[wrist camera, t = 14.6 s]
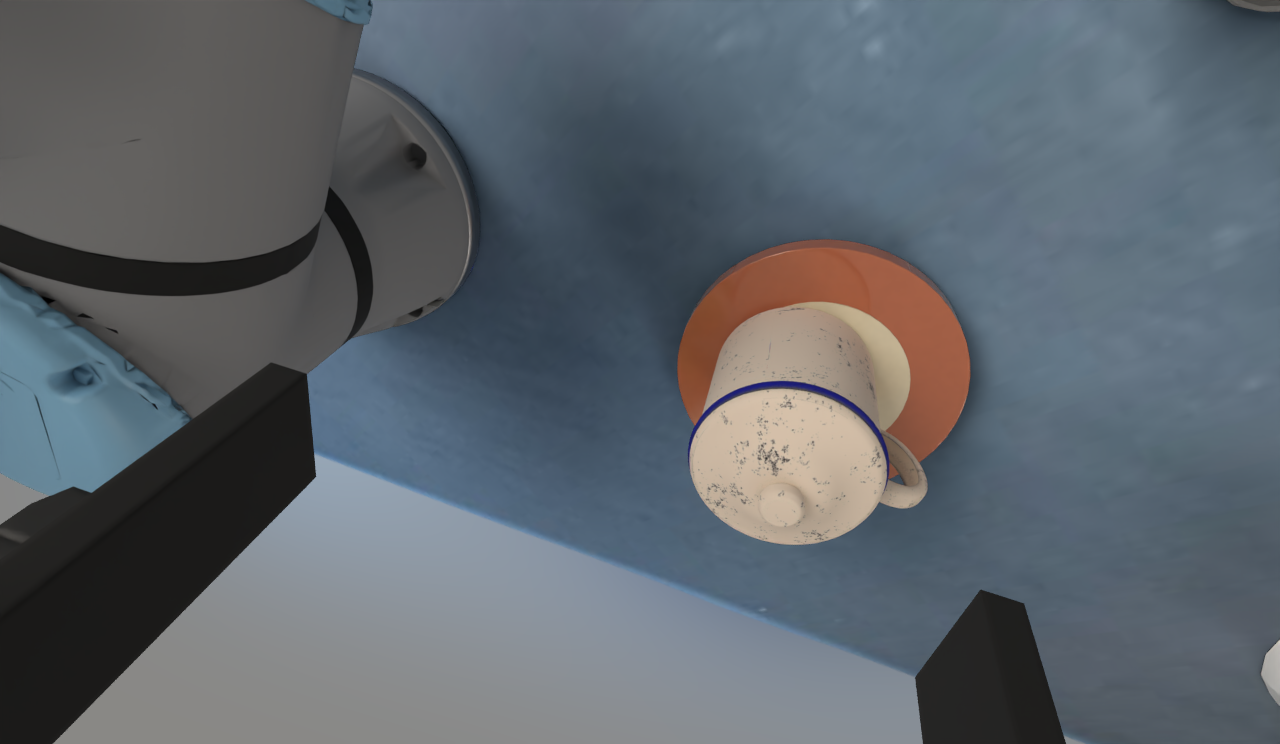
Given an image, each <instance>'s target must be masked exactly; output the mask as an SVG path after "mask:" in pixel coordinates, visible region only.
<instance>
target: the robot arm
mask: <svg viewBox="0 0 1280 744" xmlns="http://www.w3.org/2000/svg"><path fill="white" fill-rule="evenodd" d="M372 8H373V4H372V2H371V0H0V473H1V474H3V475H5V476H6V477H8V478H10V479H12V480H14V481H16V482H18V483H21V484H23V485H25V486H27V487H29V488H31V489H33V490H36V491H38V492H41V493H44V494H47V495H49V497H46V498H44V499H41V500H39V501H37V502H34V503H32V504H30V505H28V506H27V507H26V508H24V509H23V510H21V511H20V512H18V513H17V514H15V515H14V516H12V517H11V518H10V519H8V520H7V521H5V522H4V523H2V524H1V525H0V744H53V743H54V742H55V741H56V740H57V739H58V738H59V737H60V735H62V734H63V733H64V732H65V731H66V730H67V729H68V728H69V727H70V726H71V725H72V724H73V723H74V721H76V720H77V719H78V718H79V716H81V714H83V713H84V712H85V710H86V709H87V708H88V707H89V706H90V705H91V704H92V703H93V702H94V701H95V700H96V699H97V698H98V697H99V696H100V695H101V694H102V693H103V692H104V691H105V690H106V689H107V688H108V687H109V686H110V685H111V684H112V683H113V682H114V681H115V680H116V679H117V678H118V677H119V676H120V675H121V674H122V673H123V672H124V671H125V670H126V669H127V668H128V667H129V666H130V665H131V664H132V663H133V662H134V661H135V660H136V659H137V658H138V657H139V656H140V655H141V654H142V653H143V652H144V651H145V650H146V648H148V646H149V645H151V644H152V643H153V642H154V641H155V640H156V639H157V637H159V635H160V634H161V633H162V632H163V631H164V630H165V629H166V628H167V627H168V626H169V625H170V624H171V623H172V622H173V621H174V620H175V619H176V618H177V617H178V616H179V615H180V614H181V613H182V612H183V611H184V610H185V609H186V608H187V607H188V606H189V605H190V604H191V603H192V602H193V601H194V600H195V599H196V598H197V597H198V596H199V595H200V594H201V593H202V592H203V591H204V590H205V589H206V588H207V587H208V586H209V585H210V584H211V583H212V582H213V581H214V580H215V579H216V578H217V577H218V576H219V575H220V574H221V573H222V572H223V570H225V568H227V567H228V566H229V565H230V564H231V562H232V561H233V560H234V559H235V558H236V557H237V556H238V555H239V554H240V553H241V552H242V551H243V550H244V549H245V548H246V547H247V546H248V545H249V544H250V543H251V542H252V541H253V540H254V539H255V538H256V537H257V536H258V535H259V534H260V533H261V532H262V531H263V530H264V529H265V528H266V527H267V526H268V525H269V524H270V523H271V522H272V521H273V520H274V519H275V518H276V517H277V516H278V515H279V514H280V513H281V512H282V511H283V510H284V509H285V508H286V507H287V506H288V505H289V504H290V503H291V502H292V501H293V500H294V499H295V498H296V497H297V496H298V495H299V494H300V493H301V491H303V489H305V488H306V487H307V485H308V484H309V483H310V482H311V481H312V480H313V479H314V478H315V477H316V472H315V459H314V448H313V437H312V426H311V415H310V404H309V393H308V382H307V374H308V373H309V372H310V371H312V370H313V369H314V368H315V367H317V366H318V365H319V364H320V363H321V362H323V361H324V360H325V359H326V358H328V357H329V356H330V355H331V354H332V353H334V352H335V351H336V350H337V349H338V348H340V347H341V346H342V345H343V344H345V343H346V342H347V341H348V340H350V339H351V338H354V337H358V336H362V335H365V334H369V333H373V332H377V331H381V330H385V329H388V328H391V327H396V326H400V325H403V324H407V323H410V322H413V321H416V320H418V319H420V318H422V317H424V316H426V315H428V314H429V313H431V312H433V311H434V310H436V309H437V308H439V307H440V306H441V305H442V304H443V303H445V302H446V301H447V300H448V299H449V298H450V297H451V296H452V295H453V294H455V293H456V292H457V291H458V289H459V288H460V287H461V286H462V285H463V283H464V282H465V280H466V279H467V277H468V275H469V273H470V271H471V269H472V267H473V265H474V262H475V259H476V255H477V251H478V247H479V239H480V216H479V208H478V202H477V197H476V193H475V189H474V185H473V183H472V180H471V177H470V174H469V172H468V169H467V167H466V165H465V163H464V160H463V159H462V157H461V155H460V153H459V151H458V149H457V148H456V146H455V144H454V143H453V141H452V140H451V138H450V137H449V135H448V134H447V133H446V131H445V130H444V129H443V127H442V126H441V125H440V124H439V122H438V121H437V120H436V119H435V118H434V117H433V116H432V115H431V114H430V113H429V112H428V111H427V110H426V109H425V108H424V107H423V106H422V105H421V104H420V103H419V102H418V101H416V100H415V99H414V98H413V97H411V96H410V95H409V94H408V93H406V92H405V91H403V90H402V89H400V88H399V87H397V86H396V85H394V84H392V83H390V82H389V81H387V80H385V79H383V78H381V77H378V76H376V75H374V74H371V73H368V72H365V71H362V70H359V69H355V68H354V64H355V60H356V56H357V51H358V47H359V43H360V38H361V34H362V30H363V25H366V24H369V21H370V18H371V13H372ZM915 679H916V688H917V696H918V704H919V713H920V722H921V730H922V739H923V744H1066V742H1065V739H1064V736H1063V732H1062V729H1061V726H1060V722H1059V719H1058V716H1057V712H1056V709H1055V706H1054V702H1053V699H1052V696H1051V692H1050V689H1049V686H1048V682H1047V679H1046V676H1045V672H1044V669H1043V666H1042V662H1041V659H1040V655H1039V652H1038V649H1037V645H1036V642H1035V639H1034V635H1033V632H1032V629H1031V625H1030V622H1029V619H1028V615H1027V612H1026V609H1025V605H1024V603H1021V602H1018V601H1014V600H1011V599H1008V598H1005V597H1002V596H999V595H996V594H993V593H990V592H986V591H983V590H980V591H979V592H978V594H977V595H976V597H975V598H974V599H973V601H972V602H971V603H970V605H969V606H968V607H967V609H966V610H965V611H964V613H963V614H962V615H961V617H960V618H959V619H958V621H957V622H956V623H955V625H954V626H953V627H952V629H951V630H950V631H949V633H948V634H947V635H946V637H945V638H944V639H943V641H942V642H941V643H940V645H939V646H938V647H937V649H936V650H935V651H934V653H933V654H932V656H931V657H930V658H929V660H928V661H927V662H926V664H925V665H924V666H923V668H922V669H921V670H920V672H919V673H918V674H917V676H916V677H915Z"/></svg>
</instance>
